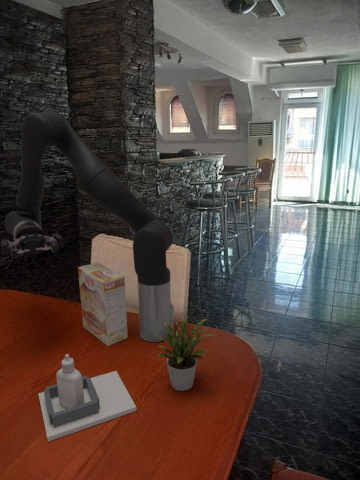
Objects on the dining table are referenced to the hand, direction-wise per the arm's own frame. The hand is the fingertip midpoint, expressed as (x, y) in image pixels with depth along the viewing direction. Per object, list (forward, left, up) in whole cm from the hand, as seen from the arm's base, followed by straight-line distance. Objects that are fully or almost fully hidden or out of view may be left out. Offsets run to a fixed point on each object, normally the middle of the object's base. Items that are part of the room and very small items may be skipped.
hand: (35, 251), depth 88 cm
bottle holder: (-5, +20, -30) cm, 36 cm away
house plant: (-28, +24, -30) cm, 48 cm away
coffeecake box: (-17, -8, -30) cm, 36 cm away
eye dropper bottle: (-2, +20, -29) cm, 35 cm away
